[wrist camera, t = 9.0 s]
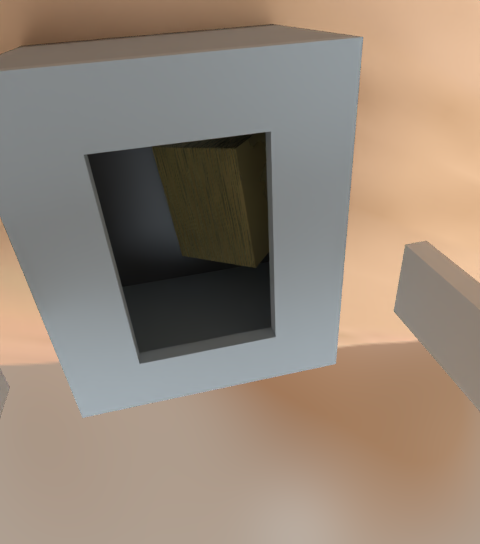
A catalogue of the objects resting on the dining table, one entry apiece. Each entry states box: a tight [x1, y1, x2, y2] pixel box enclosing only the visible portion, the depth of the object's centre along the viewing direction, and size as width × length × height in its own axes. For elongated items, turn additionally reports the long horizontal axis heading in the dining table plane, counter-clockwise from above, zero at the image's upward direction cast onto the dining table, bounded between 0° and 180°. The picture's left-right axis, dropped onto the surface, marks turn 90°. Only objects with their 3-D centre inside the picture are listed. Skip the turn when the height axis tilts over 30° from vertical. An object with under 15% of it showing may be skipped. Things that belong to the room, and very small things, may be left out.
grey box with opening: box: [0, 24, 363, 417], centre depth 20 cm, size 14×12×10 cm
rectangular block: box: [152, 132, 269, 268], centre depth 21 cm, size 6×4×4 cm
